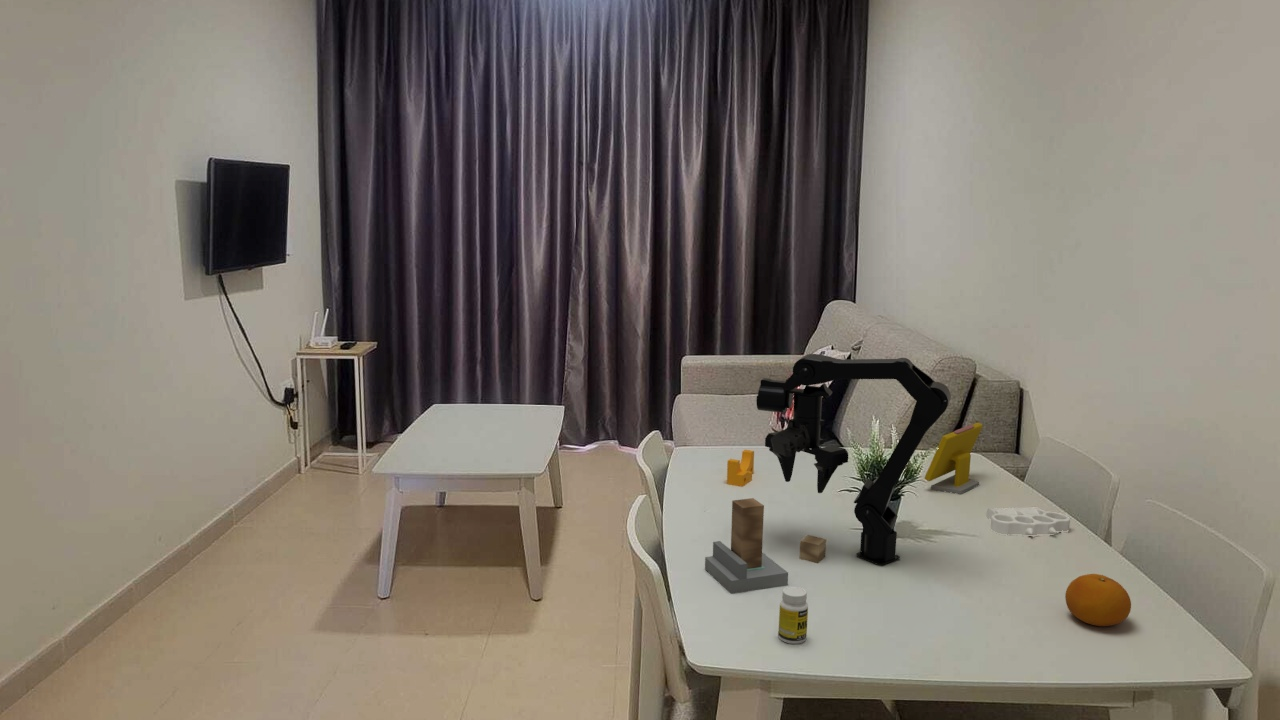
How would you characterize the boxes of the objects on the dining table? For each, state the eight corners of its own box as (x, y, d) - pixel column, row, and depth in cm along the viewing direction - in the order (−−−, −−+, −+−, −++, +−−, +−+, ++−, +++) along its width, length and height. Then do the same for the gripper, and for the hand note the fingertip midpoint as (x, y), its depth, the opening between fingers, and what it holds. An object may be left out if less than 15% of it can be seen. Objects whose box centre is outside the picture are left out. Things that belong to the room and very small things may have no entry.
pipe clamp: (742, 487, 236) (743, 463, 235) (726, 484, 239) (727, 460, 237) (759, 475, 247) (760, 451, 246) (744, 472, 249) (745, 449, 248)
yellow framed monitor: (958, 475, 249) (963, 418, 246) (987, 481, 243) (992, 423, 241) (923, 491, 235) (927, 431, 232) (952, 498, 229) (957, 437, 226)
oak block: (825, 557, 192) (826, 539, 191) (817, 563, 188) (818, 545, 188) (807, 553, 194) (808, 534, 193) (799, 559, 191) (800, 540, 190)
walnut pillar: (750, 558, 184) (753, 498, 181) (761, 567, 179) (763, 505, 177) (730, 561, 182) (732, 500, 180) (740, 570, 178) (742, 507, 176)
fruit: (1143, 631, 161) (1148, 587, 159) (1089, 636, 159) (1094, 592, 157) (1101, 605, 171) (1106, 564, 169) (1051, 609, 169) (1055, 568, 167)
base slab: (758, 561, 189) (759, 535, 188) (787, 584, 178) (788, 557, 177) (704, 569, 185) (705, 542, 184) (731, 593, 174) (732, 565, 173)
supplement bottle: (799, 647, 153) (802, 599, 152) (773, 639, 156) (775, 593, 154) (810, 635, 157) (813, 589, 156) (785, 628, 160) (787, 583, 158)
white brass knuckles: (1044, 516, 219) (1081, 539, 205) (972, 519, 216) (1005, 542, 202) (1045, 502, 218) (1083, 524, 204) (973, 505, 216) (1006, 527, 201)
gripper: (747, 411, 195) (745, 482, 198) (814, 430, 180) (810, 506, 183) (784, 404, 202) (781, 473, 204) (852, 422, 187) (847, 496, 190)
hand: (803, 487), depth 195 cm, fingers open, 9 cm apart
